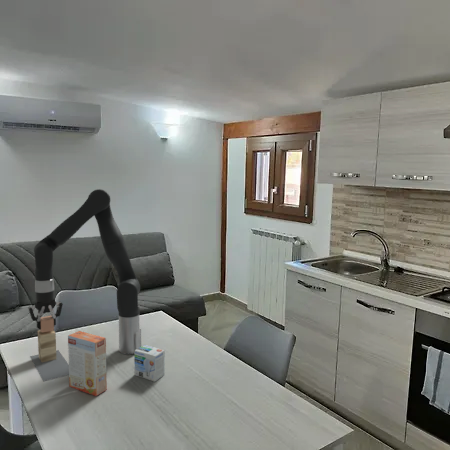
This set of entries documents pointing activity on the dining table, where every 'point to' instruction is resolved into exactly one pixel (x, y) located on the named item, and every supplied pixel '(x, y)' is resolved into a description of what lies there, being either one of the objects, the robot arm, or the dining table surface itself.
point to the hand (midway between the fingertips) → (46, 327)
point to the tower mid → (46, 339)
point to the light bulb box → (149, 362)
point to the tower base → (47, 353)
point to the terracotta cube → (47, 324)
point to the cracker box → (87, 362)
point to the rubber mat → (51, 367)
